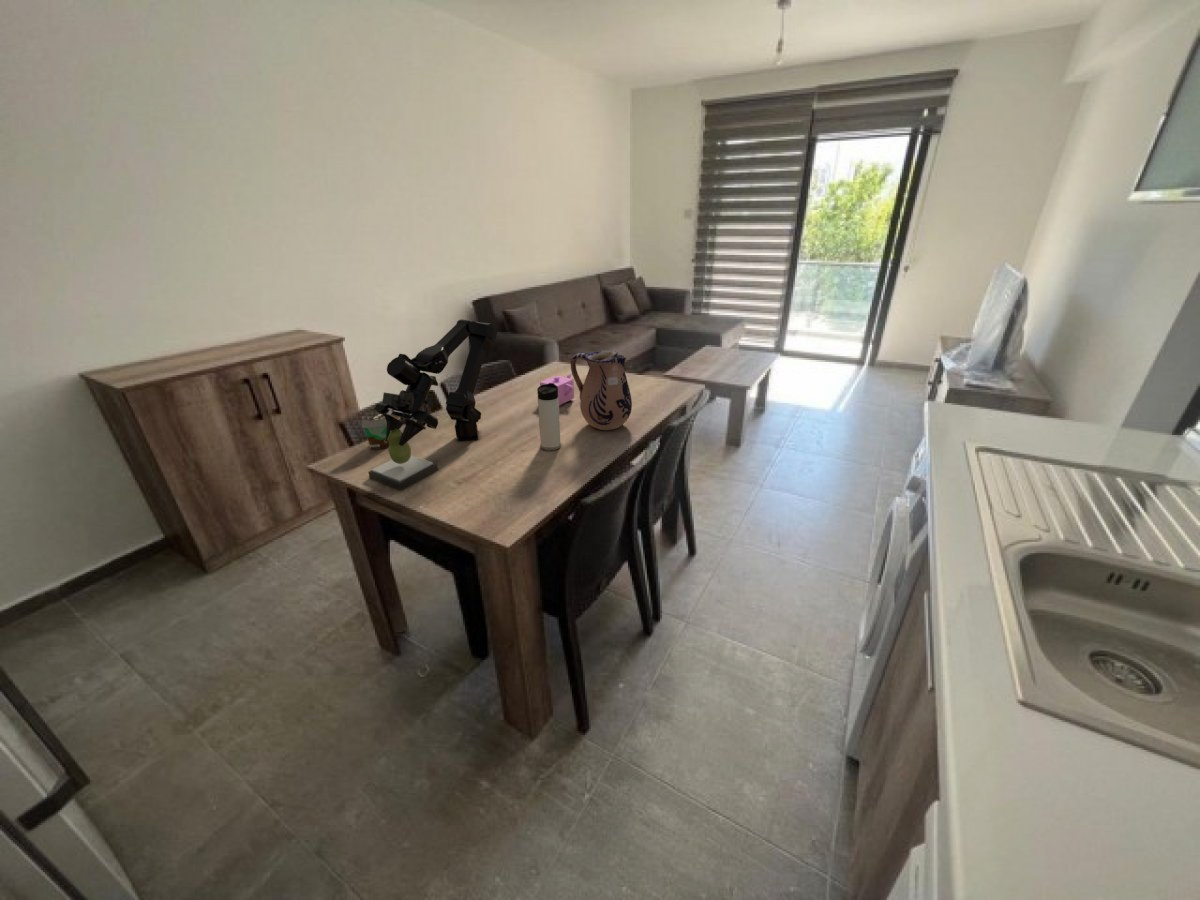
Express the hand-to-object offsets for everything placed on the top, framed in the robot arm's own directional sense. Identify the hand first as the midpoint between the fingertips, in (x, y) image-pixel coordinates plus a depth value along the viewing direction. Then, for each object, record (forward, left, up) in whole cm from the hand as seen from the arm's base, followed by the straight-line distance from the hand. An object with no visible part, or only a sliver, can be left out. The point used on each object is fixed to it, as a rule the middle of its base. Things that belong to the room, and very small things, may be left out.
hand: (393, 443), depth 131 cm
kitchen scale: (-1, -1, -10) cm, 10 cm away
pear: (-1, -1, -7) cm, 7 cm away
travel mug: (-44, -10, -10) cm, 46 cm away
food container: (+7, -23, -10) cm, 26 cm away
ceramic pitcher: (-63, -23, -10) cm, 68 cm away
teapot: (-52, -49, -10) cm, 72 cm away
